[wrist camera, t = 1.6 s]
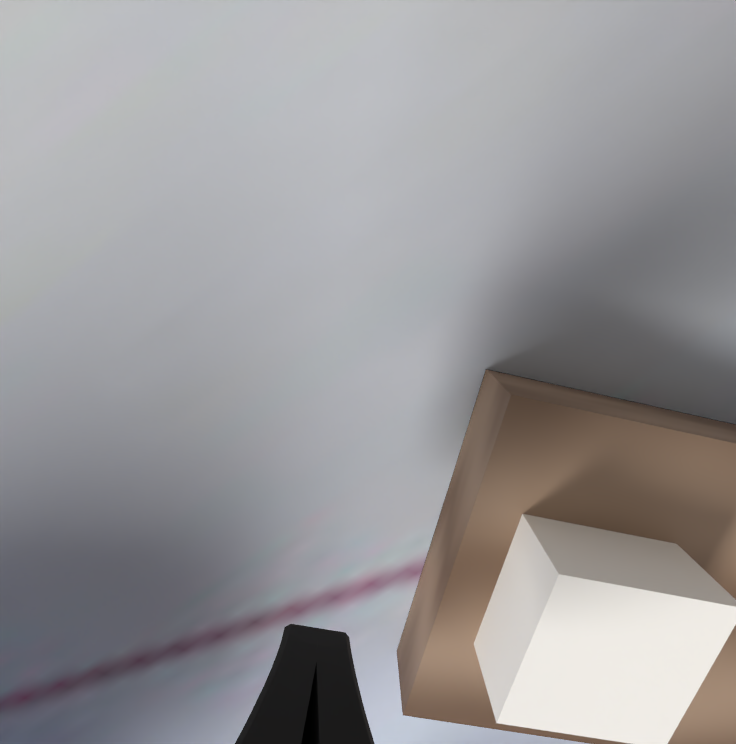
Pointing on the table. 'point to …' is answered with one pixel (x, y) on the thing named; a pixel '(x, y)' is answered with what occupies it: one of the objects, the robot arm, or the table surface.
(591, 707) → the white square block
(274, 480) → the table surface
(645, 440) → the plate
